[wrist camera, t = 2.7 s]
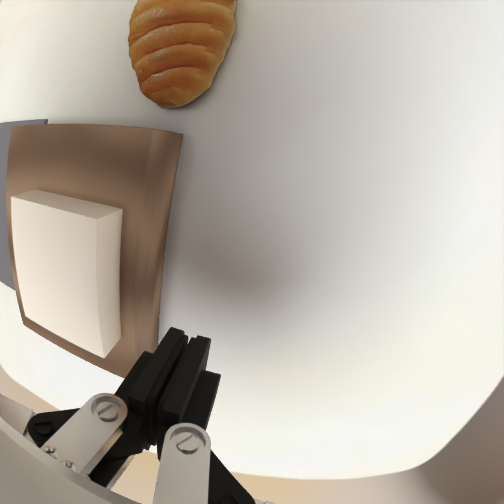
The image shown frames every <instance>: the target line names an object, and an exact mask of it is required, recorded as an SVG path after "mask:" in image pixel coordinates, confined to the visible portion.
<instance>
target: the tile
mask: <svg viewBox="0 0 504 504" xmlns="http://www.w3.org/2000/svg"><path fill="white" fill-rule="evenodd" d="M122 215H123V209H121V208H116V207H112V206H108V205H103V204H99V203H94V202H90V201H86V200H81V199H77V198H72V197H68V196H63V195H59V194H54V193H50V192H45V191H41V190H33V191H29V192H25V193H21V194H18V195H14V196H11V220H12V236H13V247H14V256H15V264H16V271H17V277H18V283H19V289H20V294H21V299H22V304H23V308H24V312H25V316H26V317H28V318H29V319H31V320H32V321H34V322H36V323H37V324H39V325H41V326H42V327H44V328H46V329H48V330H49V331H51V332H53V333H55V334H56V335H58V336H60V337H62V338H64V339H66V340H67V341H69V342H71V343H73V344H75V345H77V346H79V347H81V348H83V349H85V350H87V351H89V352H91V353H93V354H95V355H98V356H100V357H102V358H105V357H106V356H107V355H108V353H109V352H110V351H111V349H112V348H113V347H114V346H115V344H116V343H117V342H118V341H119V340H120V338H121V323H120V245H121V228H122Z"/></svg>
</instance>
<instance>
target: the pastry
mask: <svg viewBox="0 0 504 504" xmlns="http://www.w3.org/2000/svg"><path fill="white" fill-rule="evenodd" d="M236 5H237V3H236V0H138V2H137V4H136V6H135V8H134V11H133V13H132V15H131V19H130V33H129V37H128V42H129V56H130V58H131V60H132V67H133V69H134V70H135V72H136V75H137V78H138V82H139V85H140V90H141V92H142V93H143V94H144V95H145V96H146V97H147V98H149V99H150V100H152V101H154V102H155V103H157V105H158V106H160V107H162V108H178V107H182V106H184V105H186V104H188V103H190V102H192V101H193V100H194V99H196V98H197V97H199V96H200V95H201V94H202V93H204V92H205V91H206V90H208V89H209V88H210V87H211V84H212V81H213V78H214V76H215V75H216V73H217V69H218V67H219V65H220V64H221V63H222V62H223V60H224V58H225V54H226V51H227V49H228V48H229V47H230V45H231V39H232V37H233V35H234V33H235V30H236V26H237V24H236V21H235V19H234V16H235V11H236Z"/></svg>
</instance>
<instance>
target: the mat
mask: <svg viewBox="0 0 504 504" xmlns="http://www.w3.org/2000/svg"><path fill="white" fill-rule="evenodd" d="M37 124H47V119H44V120H28V121H16V122H6V123H0V281H1V282H3V283H4V284H6V285H7V286H9V287H10V288H12V289H13V290H15V285H14V280H13V274H12V267H11V260H10V252H9V243H8V231H7V211H6V181H7V162H8V150H9V141H10V133H11V126H19V125H37ZM15 291H16V290H15Z"/></svg>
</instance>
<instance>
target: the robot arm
mask: <svg viewBox="0 0 504 504" xmlns="http://www.w3.org/2000/svg"><path fill="white" fill-rule="evenodd" d="M210 343H211V339H210V338H206V337H203V336H199V335H198V336H197V337H196V338H194V337H191V339H190V341H189V343H188V336H187V335H184V331H183V330H179V329H176V328H173V327H171V328H170V329H169V330H168V332H167V333H166V335H165V336H164V338H163V340H162V341H161V343H160V344H159V346H158V347H157V349H156V350H155V352H154V353H150V352H148V351H144V352H143V353H142V354H141V356H140V357H139V359H138V360H137V361H136V363H135V364H134V366H133V367H132V369H131V370H130V372H129V373H128V375H127V376H126V378H125V379H124V381H123V382H122V384H121V385H120V387H119V388H118V390H117V391H116V393H115V394H110V393H100V394H97V395H95V396H93V397H92V398H90V399H89V400H88V401H87V402H86V403H85V404H84V405H83V406H82V407H81V408H77V409H70V410H62V411H54V412H45V413H39V414H37V413H35V412H34V410H33V409H30V408H28V407H26V406H24V405H22V404H19V403H17V402H15V401H13V400H11V399H10V398H8V397H6V396H4V395H2V394H0V504H141V503H138V502H135V501H133V500H131V499H128V498H126V497H124V496H121V495H119V494H117V493H115V492H113V491H110V490H111V488H112V487H113V486H114V484H115V483H116V481H117V480H118V479H119V477H120V476H121V475H122V473H123V472H124V471H125V469H126V468H127V466H128V465H129V464H130V462H131V461H132V460H133V458H134V456H135V454H139V453H142V451H143V449H146V450H149V448H150V446H151V445H153V446H156V444H157V454H158V459H159V461H160V465H159V470H158V475H157V482H156V487H155V493H154V499H153V504H275V503H272V502H268V501H266V502H263V501H260V500H257V499H254V498H252V496H251V495H250V494H249V493H248V492H247V491H246V490H245V489H244V488H243V487H242V486H241V485H240V483H239V482H238V481H237V480H236V479H235V478H234V477H233V476H232V474H231V473H230V472H229V471H228V470H227V468H226V467H225V466H224V465H223V464H222V463H221V461H220V460H219V459H218V458H217V456H216V455H215V454H214V453H213V451H212V450H211V441H210V437H209V435H208V433H207V432H206V428H207V425H208V421H209V418H210V415H211V411H212V408H213V404H214V401H215V397H216V393H217V390H218V386H219V381H220V377H221V375H220V374H217V373H213V372H209V371H206V365H207V359H208V354H209V349H210ZM187 344H188V345H187Z"/></svg>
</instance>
